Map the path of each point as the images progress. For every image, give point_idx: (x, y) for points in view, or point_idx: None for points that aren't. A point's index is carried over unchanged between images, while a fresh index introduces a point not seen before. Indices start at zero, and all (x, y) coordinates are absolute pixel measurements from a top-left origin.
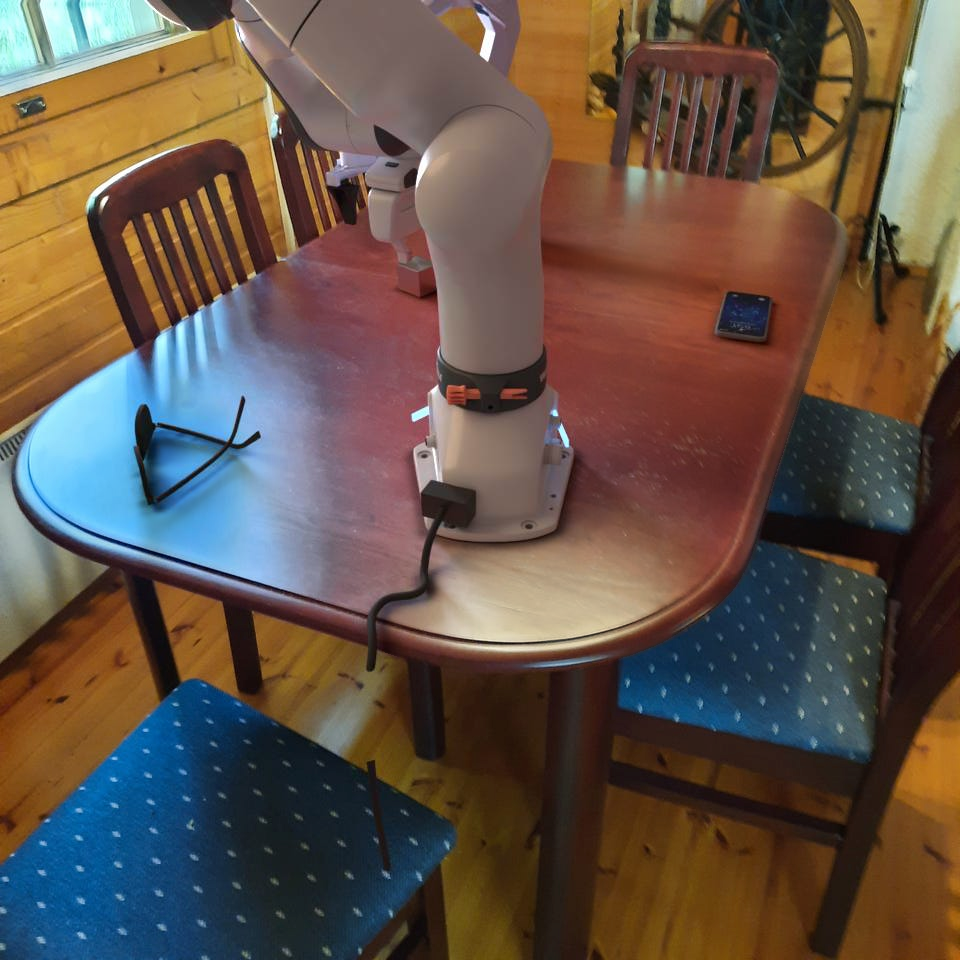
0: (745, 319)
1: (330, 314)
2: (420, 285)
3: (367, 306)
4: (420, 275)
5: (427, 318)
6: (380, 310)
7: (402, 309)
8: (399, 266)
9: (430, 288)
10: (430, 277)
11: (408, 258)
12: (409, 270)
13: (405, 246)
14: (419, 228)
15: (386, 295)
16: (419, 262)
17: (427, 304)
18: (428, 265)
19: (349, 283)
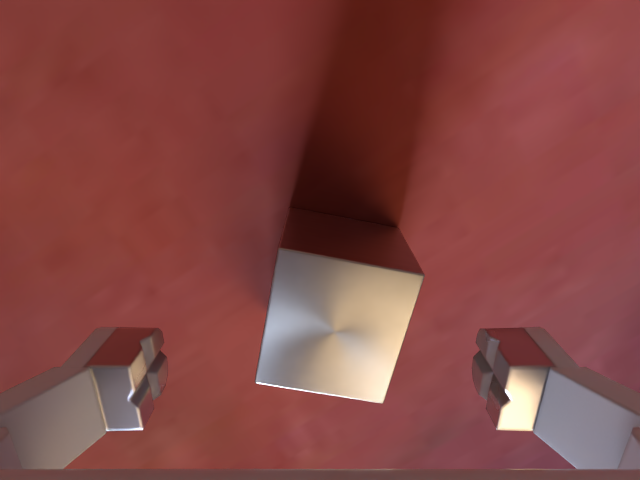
0: None
1: None
2: (401, 243)
3: None
4: (406, 261)
5: (567, 83)
6: (556, 287)
7: (521, 224)
8: (387, 384)
9: (339, 222)
10: (339, 237)
11: (533, 338)
12: (406, 326)
13: (631, 401)
14: (521, 470)
15: (433, 338)
16: (316, 332)
17: (441, 164)
18: (327, 275)
19: None
